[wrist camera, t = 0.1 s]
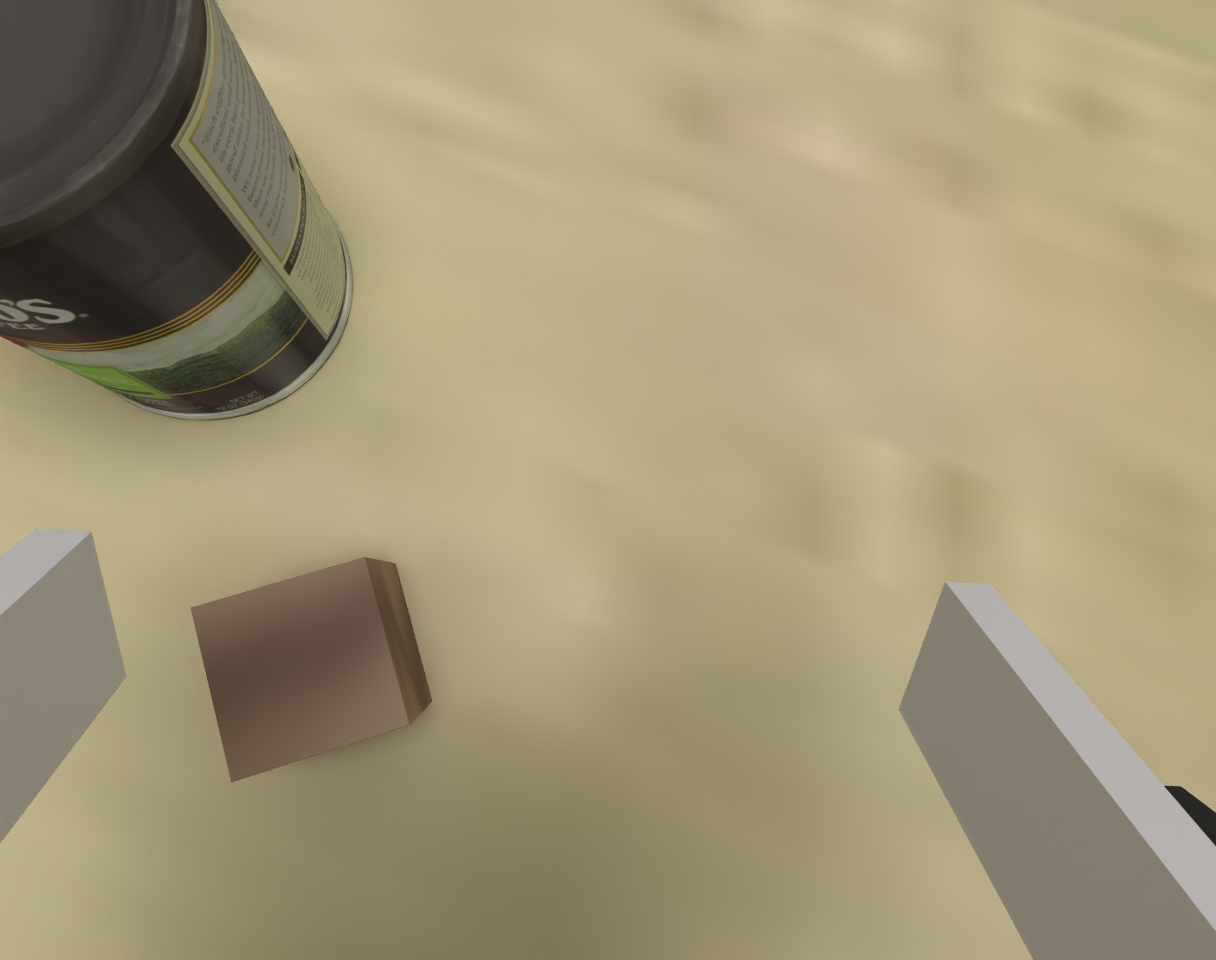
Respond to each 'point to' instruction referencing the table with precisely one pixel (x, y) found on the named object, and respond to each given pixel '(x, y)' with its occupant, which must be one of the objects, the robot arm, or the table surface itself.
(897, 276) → the table surface
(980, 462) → the table surface
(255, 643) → the walnut block
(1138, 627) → the table surface
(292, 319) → the coffee can
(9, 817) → the robot arm
